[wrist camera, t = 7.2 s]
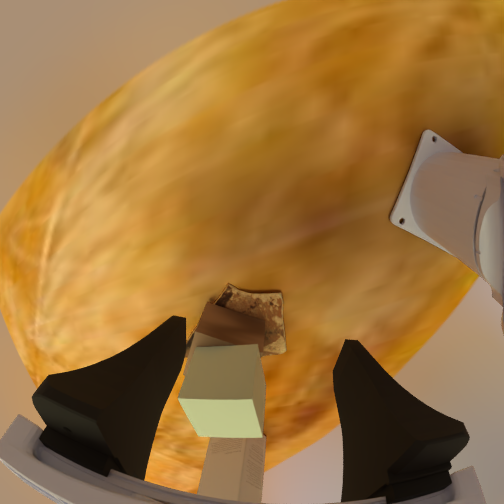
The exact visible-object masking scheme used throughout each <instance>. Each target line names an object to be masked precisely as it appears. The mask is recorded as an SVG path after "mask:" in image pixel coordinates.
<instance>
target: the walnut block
mask: <svg viewBox="0 0 504 504" xmlns="http://www.w3.org/2000/svg"><path fill="white" fill-rule="evenodd" d="M264 336H265V321H264V320H261V319H258V318H254V317H251V316H248V315H245V314H242V313H239V312H236V311H233V310H230V309H227V308H224V307H221V306H218V305H215V304H212V303H209V302H207V304H206V306H205V309H204V311H203V313H202V316H201V318H200V321H199V323H198V326H197V328H196V331H195V334H194V338H193V341H192V345H191V348H190V352H189V355H188V359H187V363H186V366H185V370H184V374H183V375H185V376H186V373H187V370H188V368H189V365H190V362H191V359H192V357H193V354H194V351H195V348H196V347H212V346H234V345H251V344H258V348H259V353H260V358H261V356H262V354H263V350H264Z"/></svg>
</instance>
